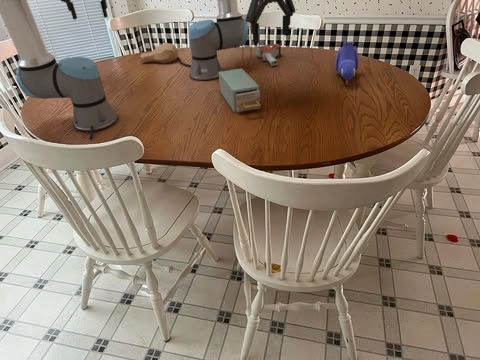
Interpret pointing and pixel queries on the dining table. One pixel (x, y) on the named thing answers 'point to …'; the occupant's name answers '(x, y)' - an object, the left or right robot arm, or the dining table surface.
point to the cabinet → (235, 85)
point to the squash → (161, 54)
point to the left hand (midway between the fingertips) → (90, 18)
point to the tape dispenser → (269, 53)
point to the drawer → (248, 100)
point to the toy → (347, 61)
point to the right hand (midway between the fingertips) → (271, 39)
